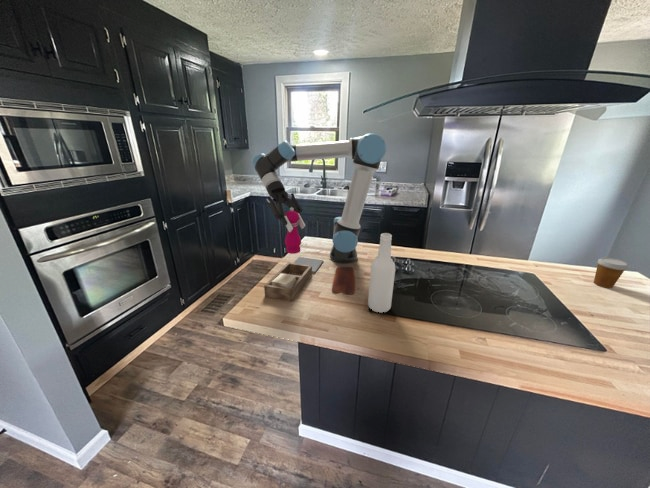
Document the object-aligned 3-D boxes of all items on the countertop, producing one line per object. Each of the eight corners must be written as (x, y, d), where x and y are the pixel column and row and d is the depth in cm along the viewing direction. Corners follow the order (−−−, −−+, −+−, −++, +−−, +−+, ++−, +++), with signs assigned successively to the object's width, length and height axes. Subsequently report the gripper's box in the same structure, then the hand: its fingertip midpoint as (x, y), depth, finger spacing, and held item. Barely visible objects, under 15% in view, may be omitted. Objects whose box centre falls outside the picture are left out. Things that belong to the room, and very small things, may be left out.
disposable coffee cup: (596, 288, 119) (607, 264, 114) (584, 278, 127) (593, 255, 123) (623, 291, 116) (635, 267, 112) (608, 281, 124) (619, 258, 120)
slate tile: (323, 261, 142) (323, 260, 141) (315, 273, 129) (315, 271, 129) (299, 258, 145) (299, 256, 145) (288, 269, 133) (288, 267, 132)
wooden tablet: (354, 296, 111) (354, 293, 111) (331, 294, 112) (331, 291, 112) (355, 268, 136) (355, 265, 135) (336, 267, 137) (336, 264, 136)
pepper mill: (290, 255, 114) (288, 210, 106) (282, 250, 119) (279, 206, 112) (304, 251, 118) (303, 207, 110) (296, 246, 123) (294, 204, 116)
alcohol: (363, 305, 104) (368, 233, 93) (377, 298, 109) (384, 229, 98) (380, 316, 98) (388, 240, 87) (395, 307, 103) (404, 235, 92)
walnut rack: (311, 275, 127) (311, 265, 125) (292, 301, 106) (292, 290, 104) (288, 271, 131) (287, 262, 129) (265, 296, 109) (264, 285, 108)
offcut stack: (298, 288, 116) (298, 275, 114) (290, 298, 108) (289, 285, 106) (280, 284, 118) (279, 273, 116) (270, 295, 110) (270, 282, 108)
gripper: (287, 188, 126) (310, 228, 121) (251, 193, 114) (275, 238, 108) (294, 178, 120) (318, 219, 115) (257, 182, 108) (282, 228, 103)
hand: (297, 228), depth 112 cm, fingers closed on pepper mill, 6 cm apart
